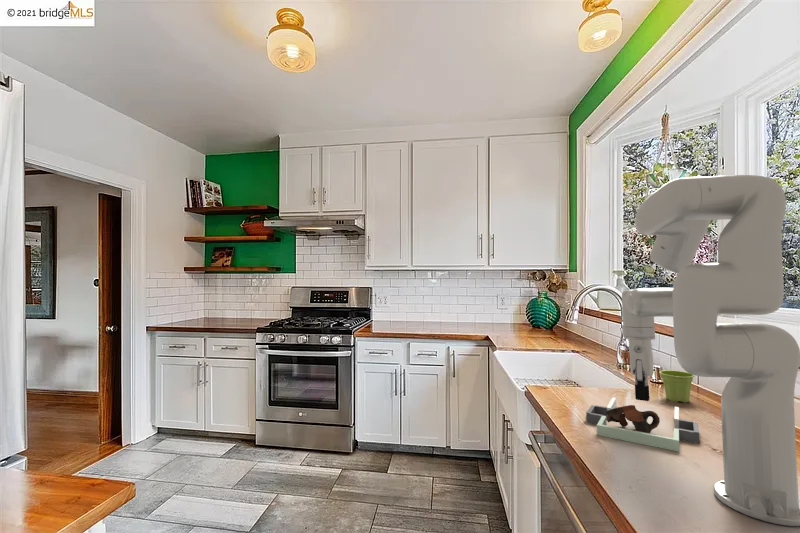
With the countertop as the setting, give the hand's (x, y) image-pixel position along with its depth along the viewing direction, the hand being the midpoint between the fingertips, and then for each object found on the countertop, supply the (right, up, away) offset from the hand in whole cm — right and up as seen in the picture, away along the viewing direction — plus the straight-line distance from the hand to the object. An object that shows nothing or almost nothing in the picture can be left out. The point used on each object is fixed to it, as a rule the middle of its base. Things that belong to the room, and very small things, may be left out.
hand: (642, 399), depth 106 cm
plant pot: (+24, -7, +19) cm, 31 cm away
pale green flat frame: (-2, -6, -2) cm, 7 cm away
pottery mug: (-7, -6, -8) cm, 12 cm away
